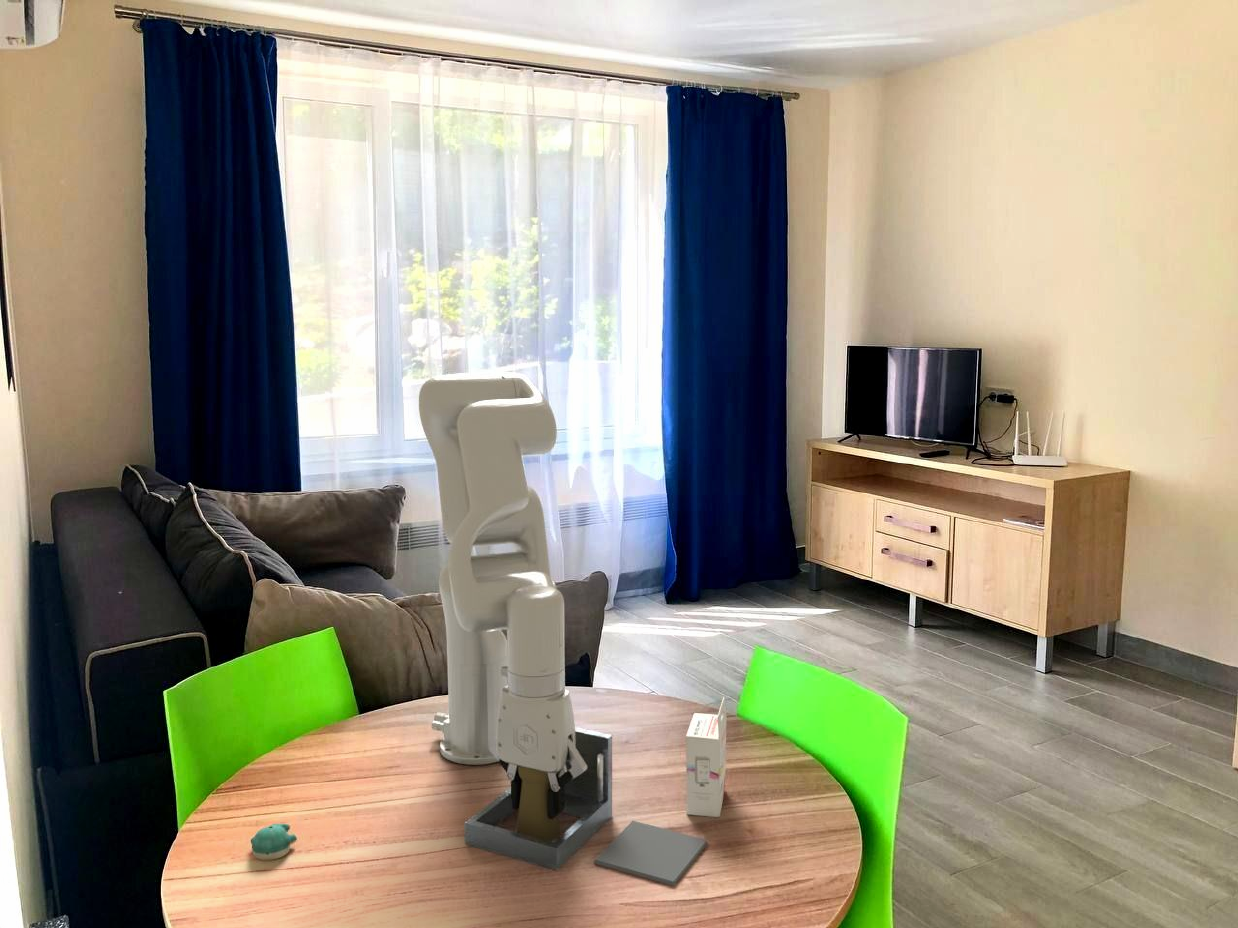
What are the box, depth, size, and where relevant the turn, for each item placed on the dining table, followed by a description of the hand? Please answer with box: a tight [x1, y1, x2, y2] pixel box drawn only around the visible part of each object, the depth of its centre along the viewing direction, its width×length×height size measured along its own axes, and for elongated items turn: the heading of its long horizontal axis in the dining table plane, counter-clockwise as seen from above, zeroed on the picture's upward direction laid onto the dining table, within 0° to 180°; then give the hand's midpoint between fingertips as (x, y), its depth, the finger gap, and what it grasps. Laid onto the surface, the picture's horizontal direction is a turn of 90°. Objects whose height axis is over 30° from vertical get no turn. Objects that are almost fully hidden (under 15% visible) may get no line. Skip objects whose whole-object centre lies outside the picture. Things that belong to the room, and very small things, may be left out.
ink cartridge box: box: [685, 696, 727, 818], centre depth 143 cm, size 9×5×15 cm, turn 168°
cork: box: [515, 766, 561, 842], centre depth 135 cm, size 6×6×11 cm
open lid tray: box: [464, 726, 613, 871], centre depth 135 cm, size 14×15×12 cm
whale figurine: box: [250, 823, 298, 861], centre depth 131 cm, size 6×7×4 cm
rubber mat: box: [594, 820, 708, 887], centre depth 130 cm, size 11×11×1 cm
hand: (538, 808), depth 135 cm, fingers open, 4 cm apart
